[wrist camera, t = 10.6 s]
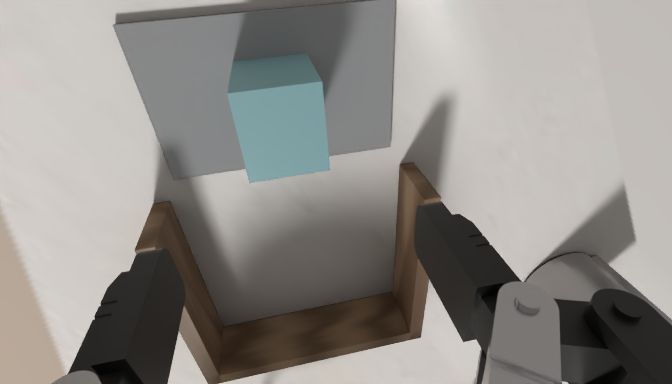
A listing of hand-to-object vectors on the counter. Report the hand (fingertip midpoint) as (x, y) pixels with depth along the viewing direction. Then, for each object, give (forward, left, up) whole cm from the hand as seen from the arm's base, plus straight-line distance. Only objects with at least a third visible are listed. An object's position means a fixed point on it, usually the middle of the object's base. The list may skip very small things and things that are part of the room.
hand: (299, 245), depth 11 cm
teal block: (0, 0, -14) cm, 14 cm away
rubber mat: (0, 0, -15) cm, 15 cm away
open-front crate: (0, +15, -15) cm, 21 cm away
